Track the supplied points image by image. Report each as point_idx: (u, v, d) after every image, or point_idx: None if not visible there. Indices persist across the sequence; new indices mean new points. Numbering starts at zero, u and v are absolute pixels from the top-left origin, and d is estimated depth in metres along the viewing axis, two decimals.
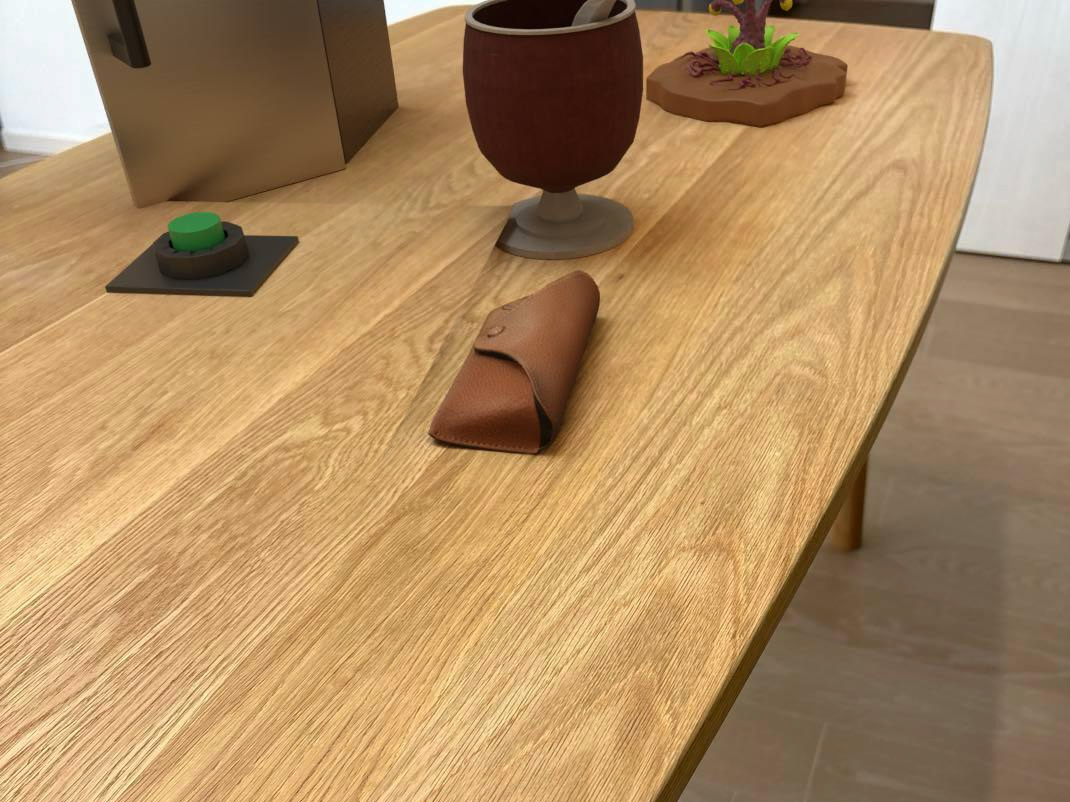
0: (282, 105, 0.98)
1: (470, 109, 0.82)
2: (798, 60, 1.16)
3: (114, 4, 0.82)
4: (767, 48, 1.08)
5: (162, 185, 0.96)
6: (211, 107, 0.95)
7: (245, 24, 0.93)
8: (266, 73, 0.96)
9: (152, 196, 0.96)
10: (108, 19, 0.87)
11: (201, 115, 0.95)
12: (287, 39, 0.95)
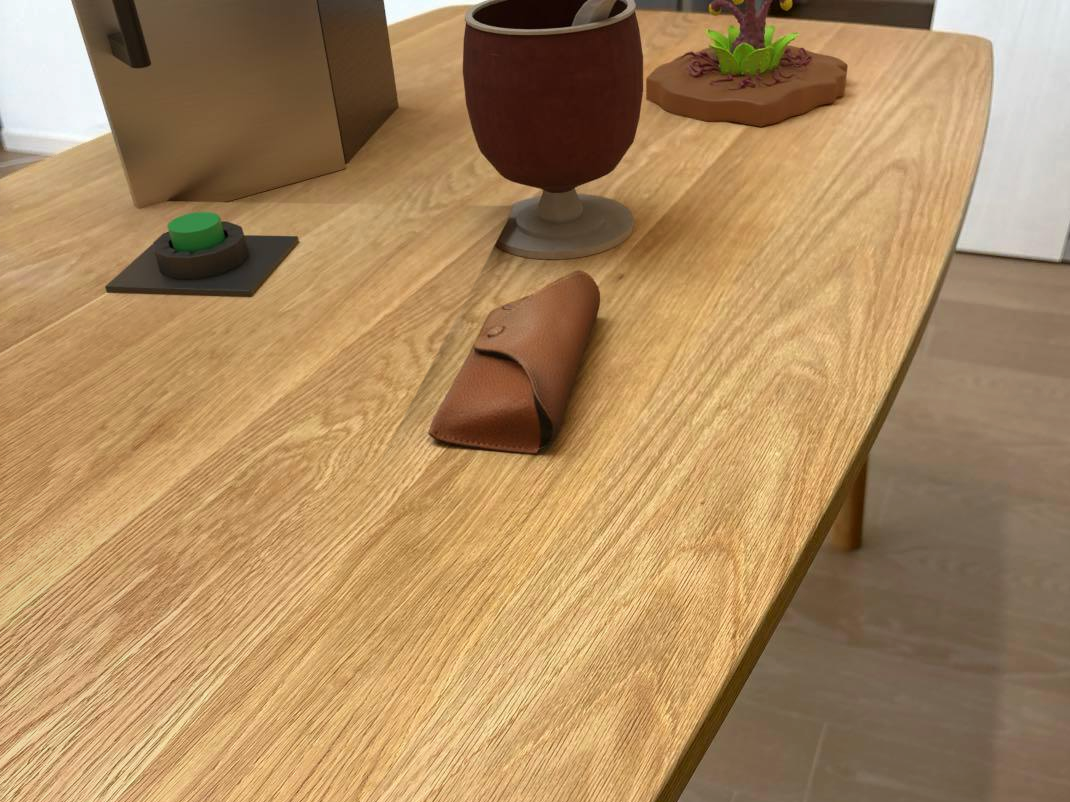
0: (282, 105, 0.98)
1: (470, 109, 0.82)
2: (798, 60, 1.16)
3: (114, 4, 0.82)
4: (767, 48, 1.08)
5: (162, 185, 0.96)
6: (211, 107, 0.95)
7: (245, 24, 0.93)
8: (266, 73, 0.96)
9: (152, 196, 0.96)
10: (108, 19, 0.87)
11: (201, 115, 0.95)
12: (287, 39, 0.95)
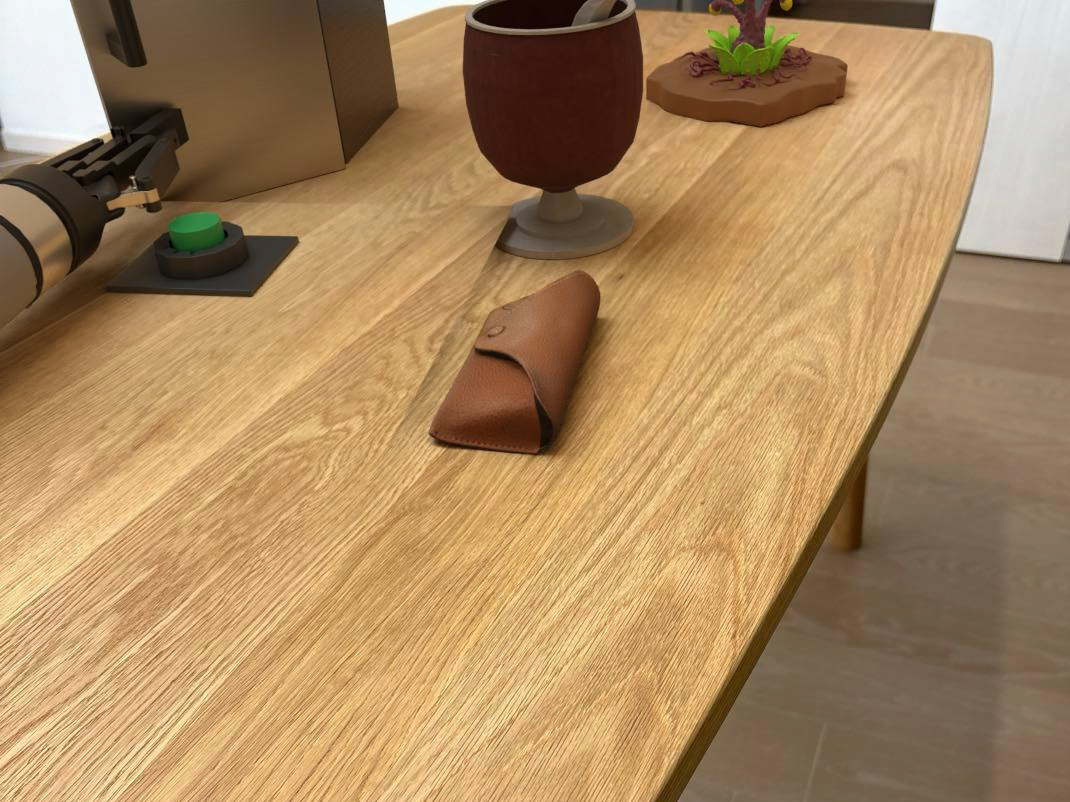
0: (281, 105, 0.98)
1: (470, 109, 0.82)
2: (798, 60, 1.16)
3: (110, 3, 0.82)
4: (767, 48, 1.08)
5: None
6: (210, 106, 0.95)
7: (244, 24, 0.93)
8: (265, 73, 0.96)
9: None
10: (106, 18, 0.87)
11: (200, 114, 0.95)
12: (286, 39, 0.96)
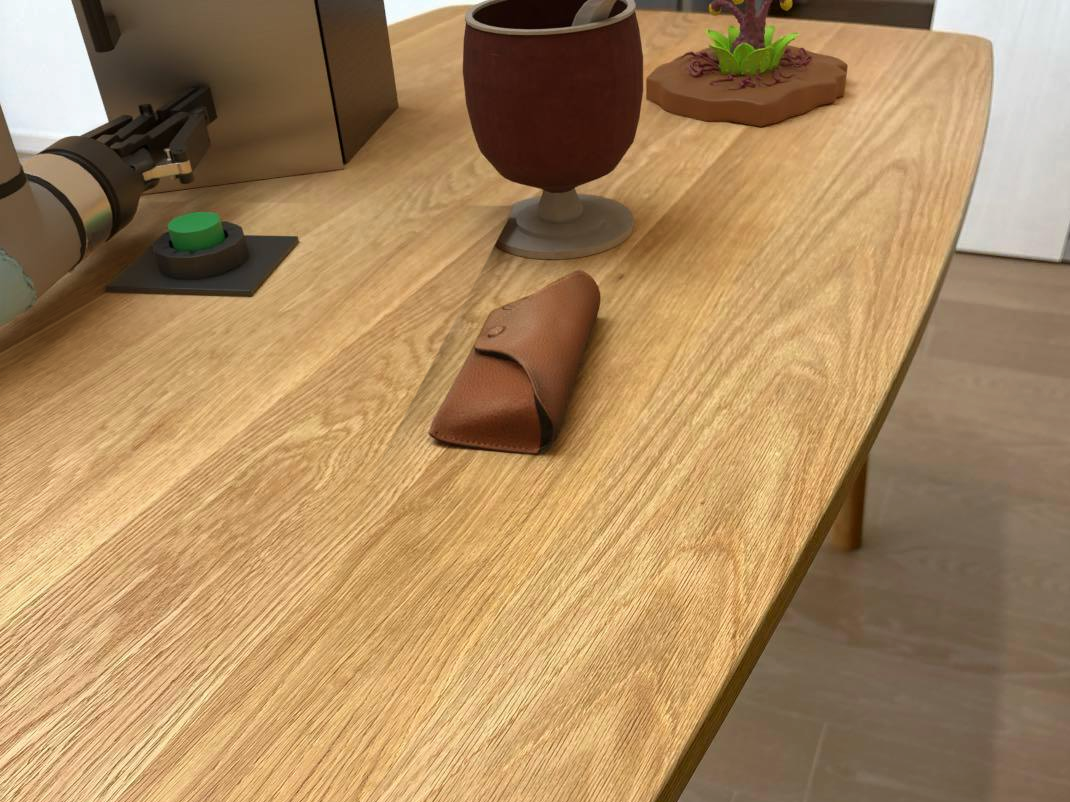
0: (275, 100, 1.00)
1: (470, 109, 0.82)
2: (798, 60, 1.16)
3: None
4: (767, 48, 1.08)
5: None
6: None
7: (237, 18, 0.95)
8: (258, 67, 0.98)
9: None
10: None
11: None
12: (281, 36, 0.96)
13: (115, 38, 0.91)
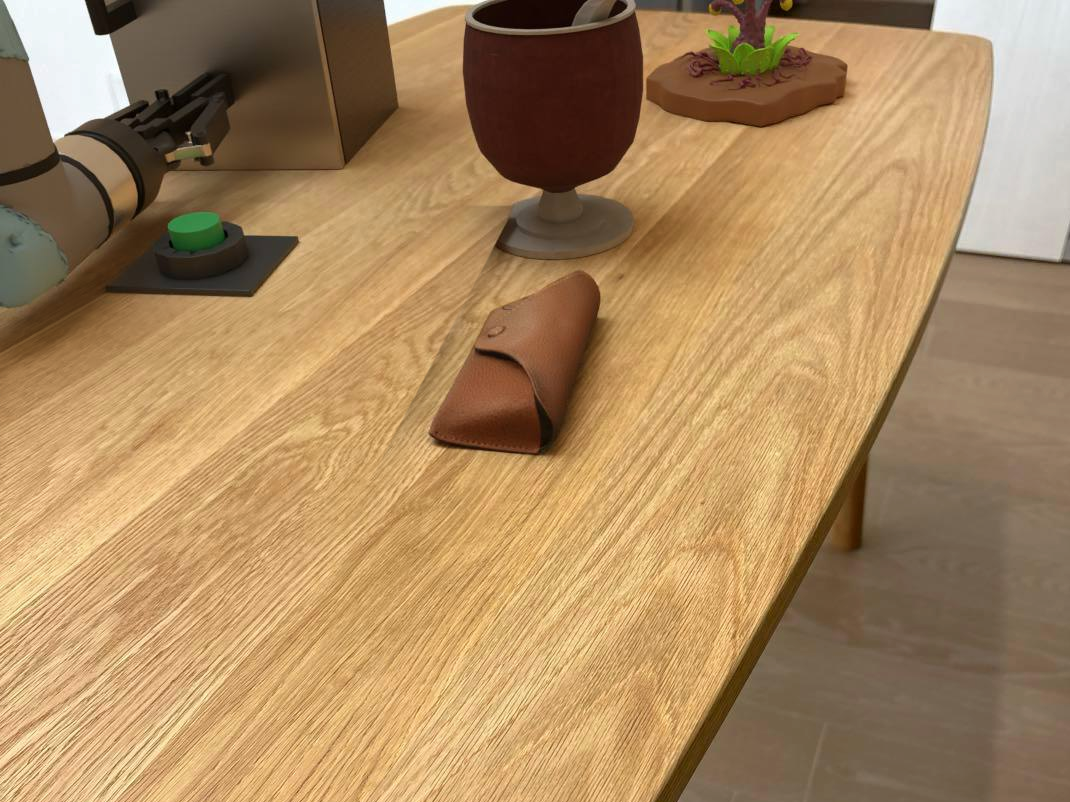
0: (276, 94, 1.01)
1: (470, 109, 0.82)
2: (798, 60, 1.16)
3: None
4: (767, 48, 1.08)
5: None
6: None
7: (240, 12, 0.97)
8: (260, 61, 0.99)
9: None
10: None
11: None
12: (281, 33, 0.97)
13: (120, 22, 0.96)
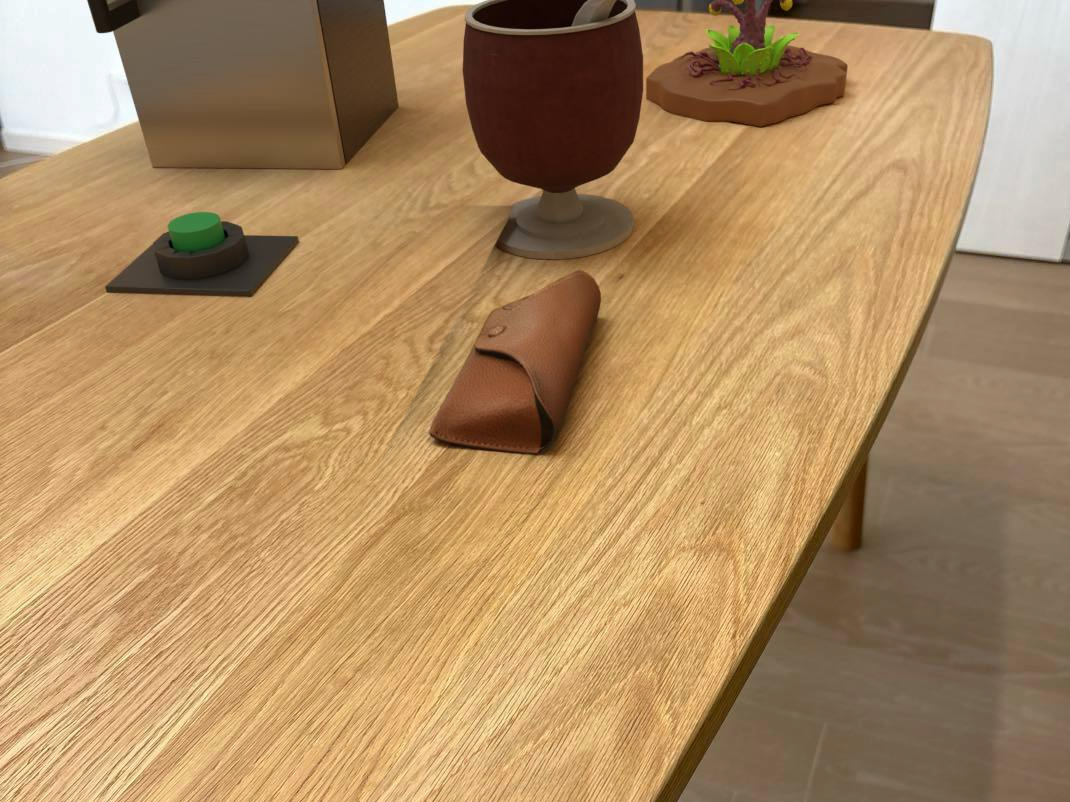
0: (277, 93, 1.01)
1: (470, 109, 0.82)
2: (798, 60, 1.16)
3: None
4: (767, 48, 1.08)
5: (167, 137, 1.06)
6: (210, 80, 1.02)
7: (241, 11, 0.97)
8: (261, 60, 0.99)
9: (159, 145, 1.07)
10: None
11: (201, 85, 1.02)
12: (281, 33, 0.97)
13: (122, 20, 0.96)
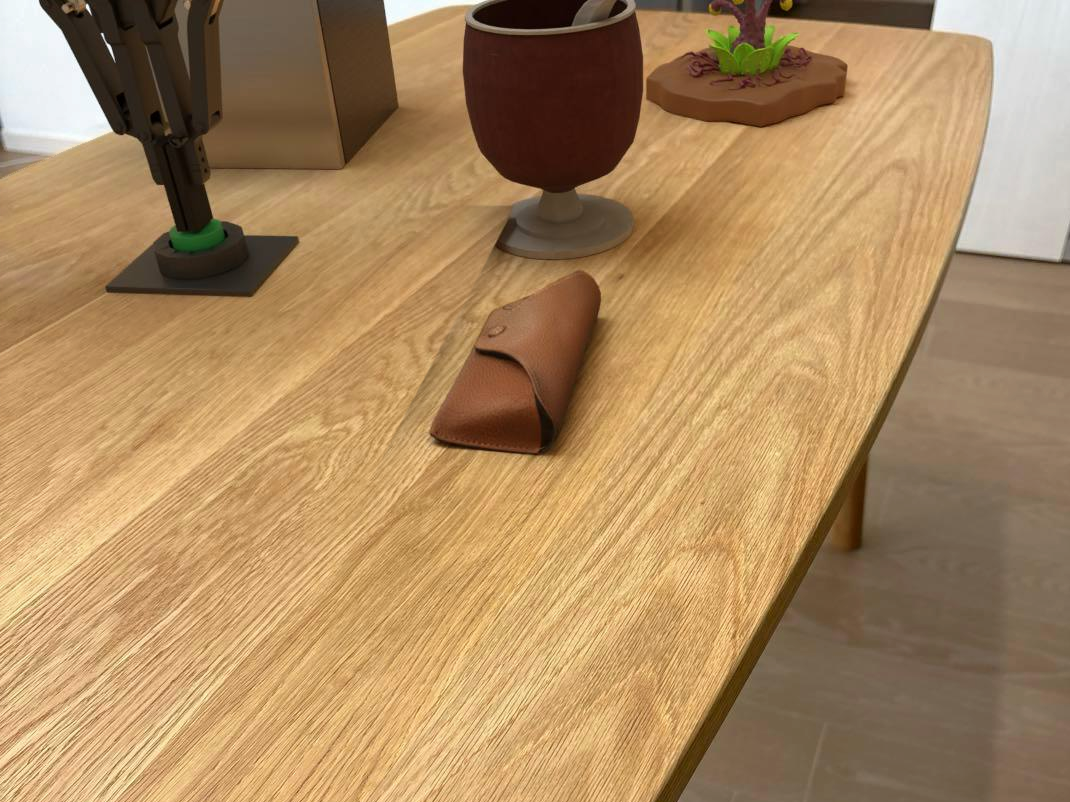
0: (277, 93, 1.01)
1: (470, 109, 0.82)
2: (798, 60, 1.16)
3: None
4: (767, 48, 1.08)
5: None
6: None
7: (241, 11, 0.97)
8: (261, 60, 0.99)
9: None
10: None
11: None
12: (281, 33, 0.97)
13: None
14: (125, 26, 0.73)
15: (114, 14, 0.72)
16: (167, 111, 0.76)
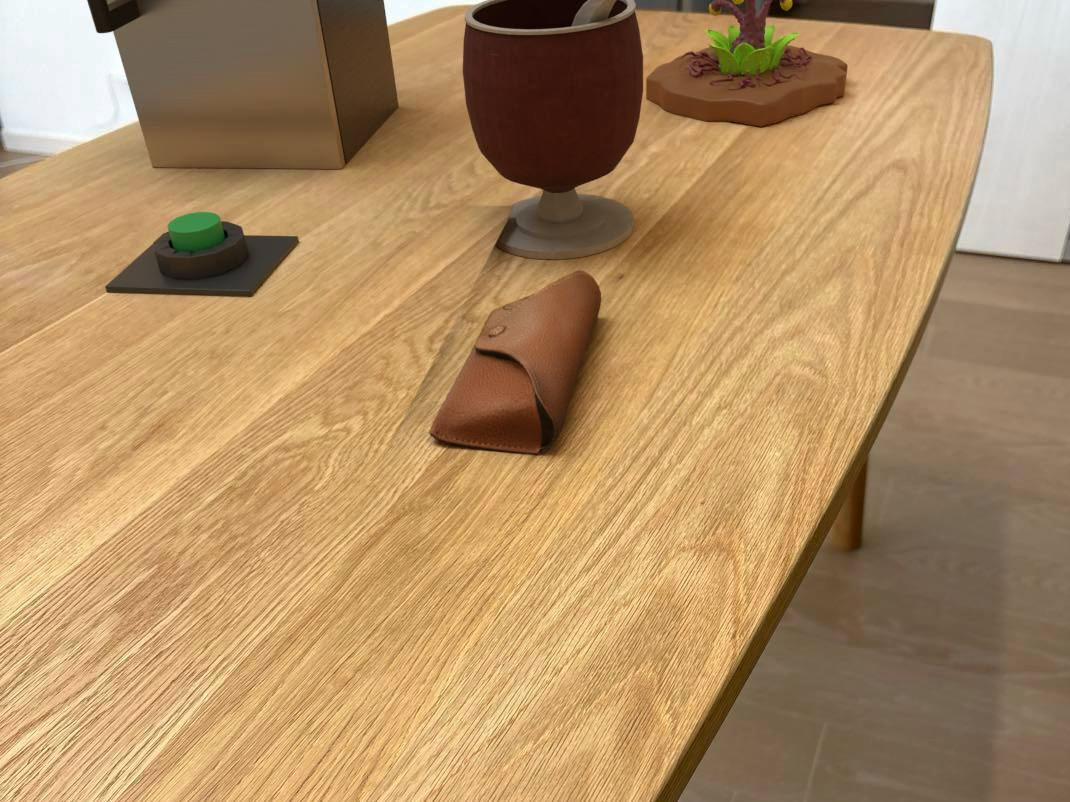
0: (277, 93, 1.01)
1: (470, 109, 0.82)
2: (798, 60, 1.16)
3: None
4: (767, 48, 1.08)
5: (167, 137, 1.06)
6: (210, 80, 1.02)
7: (241, 11, 0.97)
8: (261, 60, 0.99)
9: (159, 145, 1.07)
10: None
11: (201, 85, 1.02)
12: (281, 33, 0.97)
13: (122, 20, 0.96)
14: None
15: None
16: None
